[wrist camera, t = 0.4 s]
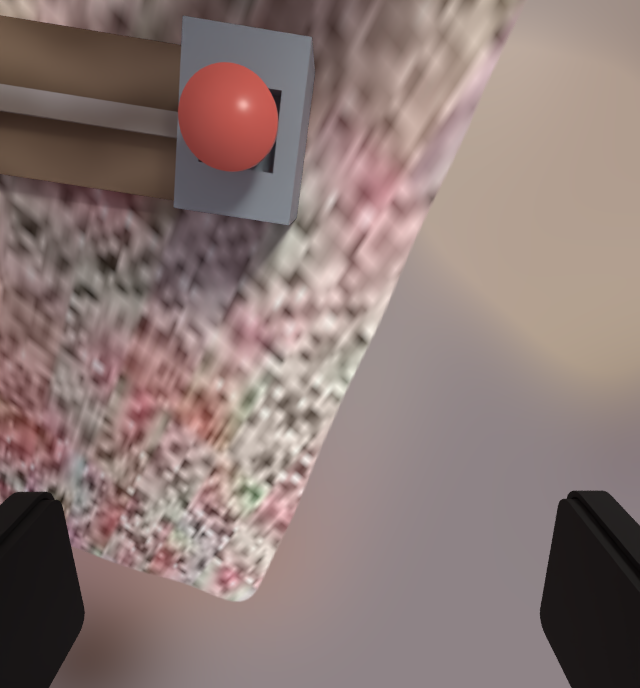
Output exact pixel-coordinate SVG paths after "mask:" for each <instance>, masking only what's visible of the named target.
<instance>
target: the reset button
mask: <svg viewBox="0 0 640 688" xmlns="http://www.w3.org/2000/svg"><path fill="white" fill-rule="evenodd" d="M178 120H179V126H180V130H181V133H182V136H183V139H184V141H185V143H186V144H187V146H188V147H189V149H190V150H191V152H192V153H193V154H194V155H195V156H196V157H197V158H198V159H199V160H201V161H202V162H203V163H205V164H206V165H208V166H210V167H212V168H215V169H218V170H223V171H229V172H239V171H244V170H247V169H250V168H252V167H254V166H256V165H257V164H259V163H260V162H261V161H262V160H263V159H264V158H265V157H266V156H267V155H268V154H269V152H270V151H271V149H272V147H273V145H274V143H275V140H276V137H277V133H278V124H279V120H278V111H277V107H276V104H275V101H274V98H273V96H272V94H271V92H270V91H269V89H268V87H267V86H266V84H265V83H264V82H263V81H262V79H261V78H260V77H259V76H258V75H257V74H255V73H254V72H253V71H251V70H250V69H248V68H246V67H244V66H241V65H239V64H235V63H229V62H220V63H214V64H211V65H208V66H206V67H204V68H202V69H200V70H199V71H198V72H196V73H195V74H194V75H193V76H192V77H191V78H190V79H189V81H188V82H187V84H186V85H185V87H184V89H183V91H182V94H181V97H180V101H179V107H178Z"/></svg>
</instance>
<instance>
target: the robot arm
mask: <svg viewBox="0 0 640 688" xmlns="http://www.w3.org/2000/svg"><path fill="white" fill-rule="evenodd" d="M84 614H85V612H84V605H83V600H82V596H81V591H80V586H79V582H78V577H77V573H76V567H75V563H74V559H73V553H72V549H71V544H70V539H69V535H68V530H67V525H66V521H65V516H64V511H63V507H62V504H61V502H60V501H58V500H54V497H53V496H52V494H51V493H48V492H17V493H14V494H12V495H11V496H9V497H8V498H7V499H6V500H5V501H4V502H3V503H2V504H1V505H0V688H49V686H50V685H51V683H52V681H53V679H54V678H55V676H56V674H57V672H58V670H59V668H60V667H61V665H62V663H63V661H64V660H65V658H66V656H67V654H68V652H69V651H70V649H71V647H72V645H73V643H74V642H75V640H76V638H77V636H78V634H79V633H80V630H81V628H82V625H83V621H84ZM540 619H541V624H542V628H543V631H544V633H545V635H546V637H547V639H548V641H549V643H550V645H551V647H552V649H553V651H554V653H555V655H556V657H557V659H558V661H559V663H560V665H561V667H562V669H563V672H564V673H565V675H566V678H567V680H568V681H569V684H570V686H571V687H572V688H640V526H639V525H638V523H637V522H635V520H634V519H633V518H632V517H631V516H630V515H629V514H628V513H627V512H626V511H625V510H624V509H623V508H622V507H621V505H620V504H619V503H618V502H617V501H616V500H615V499H614V498H613V497H612V496H611V495H610V494H609V493H607V492H605V491H572V492H570V493H569V494H568V496H567V499H562V500H560V502H559V505H558V509H557V515H556V521H555V526H554V532H553V538H552V544H551V550H550V555H549V561H548V567H547V573H546V578H545V584H544V590H543V597H542V601H541V607H540Z"/></svg>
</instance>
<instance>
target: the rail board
mask: <svg viewBox="0 0 640 688" xmlns="http://www.w3.org/2000/svg"><path fill="white" fill-rule="evenodd" d="M180 62H181V45H177V44H171V43H165V42H159V41H153V40H147V39H141V38H135V37H129V36H123V35H116V34H110V33H104V32H98V31H92V30H86V29H80V28H74V27H68V26H62V25H55V24H49V23H43V22H37V21H31V20H25V19H19V18H13V17H7V16H1V15H0V174H4V175H11V176H17V177H24V178H30V179H37V180H44V181H50V182H57V183H63V184H70V185H76V186H83V187H89V188H96V189H103V190H109V191H116V192H122V193H129V194H135V195H142V196H148V197H155V198H162V199H168V200H174V189H175V168H176V147H177V126H178V104H179V83H180Z"/></svg>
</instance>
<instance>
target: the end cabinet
mask: <svg viewBox="0 0 640 688" xmlns="http://www.w3.org/2000/svg"><path fill="white" fill-rule="evenodd" d="M220 62H229V63H235V64H239V65H241V66H244V67H246V68H248V69H250V70H251V71H253V72H254V73H255V74H257V75H258V76H259V77H260V78H261V79H262V81H263V82H264V83H265V84H266V86H267V87H268V89H269V91H270V92H271V94H272V96H273V98H274V101H275V104H276V107H277V111H278V120H279V124H278V133H277V137H276V140H275V143H274V145H273V147H272V149H271V151H270V152H269V154H268V155H267V156H266V157H265V158H264V159H263V160H262V161H261V162H260V163H259V164H257V165H256V166H254V167H252V168H250V169H247V170H244V171H239V172H229V171H223V170H218V169H215V168H212V167H210V166H208V165H206V164H205V163H203V162H202V161H201V160H199V159H198V158H197V157H196V156H195V155H194V154H193V153H192V152H191V150H190V149H189V147H188V146H187V144H186V143H185V141H184V139H183V136H182V133H181V130H180V126H179V120H178V126H177V147H176V168H175V189H174V208H179V209H186V210H192V211H199V212H206V213H212V214H219V215H225V216H232V217H238V218H245V219H252V220H258V221H265V222H271V223H278V224H284V225H290V224H291V223H292V222H293V221H294V220H295V219H296V218H297V211H298V203H299V195H300V188H301V180H302V172H303V164H304V156H305V148H306V140H307V133H308V125H309V117H310V109H311V101H312V93H313V85H314V78H315V65H314V54H313V43H312V37H309V36H303V35H297V34H291V33H285V32H279V31H273V30H267V29H261V28H255V27H249V26H243V25H237V24H231V23H225V22H219V21H213V20H207V19H201V18H195V17H189V16H183V20H182V41H181V62H180V83H179V101H180V97H181V94H182V91H183V89H184V87H185V85H186V84H187V82H188V81H189V79H190V78H191V77H192V76H193V75H194V74H195V73H196V72H198V71H199V70H200V69H202V68H204V67H206V66H208V65H211V64H214V63H220ZM178 107H179V104H178Z"/></svg>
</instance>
